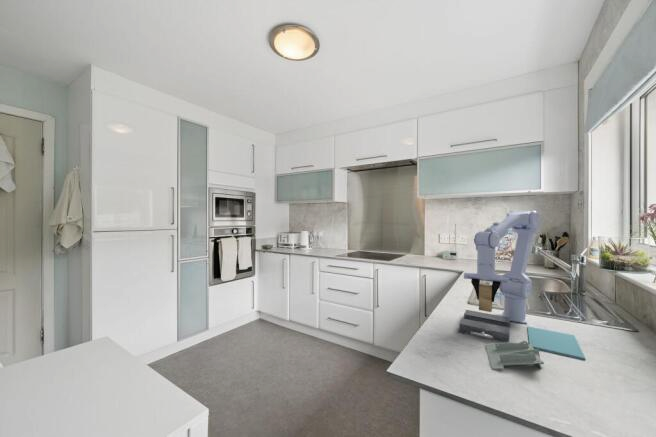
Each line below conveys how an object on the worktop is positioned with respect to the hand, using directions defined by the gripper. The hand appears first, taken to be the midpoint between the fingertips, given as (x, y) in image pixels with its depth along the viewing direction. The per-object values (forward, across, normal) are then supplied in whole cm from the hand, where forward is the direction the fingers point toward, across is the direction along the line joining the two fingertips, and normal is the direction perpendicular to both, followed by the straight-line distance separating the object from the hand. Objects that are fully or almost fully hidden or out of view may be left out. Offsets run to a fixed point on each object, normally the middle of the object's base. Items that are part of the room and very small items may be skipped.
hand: (485, 300), depth 101 cm
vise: (+10, 0, 0) cm, 10 cm away
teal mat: (+10, +20, 0) cm, 22 cm away
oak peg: (+3, 0, 0) cm, 3 cm away
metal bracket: (+11, +8, -21) cm, 25 cm away
